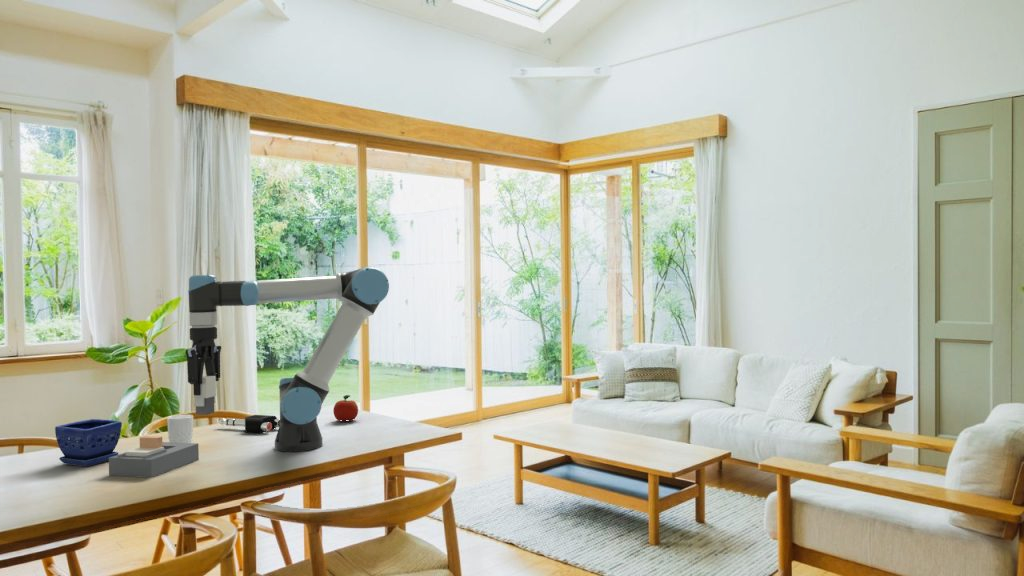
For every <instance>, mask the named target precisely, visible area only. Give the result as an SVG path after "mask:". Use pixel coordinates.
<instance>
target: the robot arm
mask: <svg viewBox="0 0 1024 576" xmlns="http://www.w3.org/2000/svg"><path fill="white" fill-rule="evenodd" d="M389 291H390V283H389V279H388V277H387V275H386V274H385V272H383V271H382V270H380V269H378V268H376V267H374V266H373V267H372V266H364V267H362V268H358V269H356V270H352V271H351V270H350V271H346V272H337V273H336V274H335V275H332V276H331V275H329V276H327V275H326V276H314V277H313V276H312V277H299V278H298V277H296V278H292V277H291V278H276V279H262V280H261V279H260V280H231V281H230V280H229V281H226V280H225V281H222V280H221V281H219V280H217V276H216V275H214V274H197V275H196V274H195V275H191V276H190V277H189V278H188V313H189V326H190V328H189V340H190V341H192V346H191V348H190V349H186V350H185V357H186V362H187V365H186V367H187V368H186V369H187V382H188V384H190V385H192V386H193V385H194V396H193V398H194V397H195V398H194V407H196V406H204V384H202V377H203V376H204V369H205V374H206V375H205V376H216V382H218V381H219V380H220V378H221V352H222V346H221V345H216V342H215V340H217V339H218V328H217V326H216V325H217V324H218V313H217V312H218V310H217V308H218V307H237V306H238V307H239V306H240V307H242V306H245V307H247V306H248V307H249V306H257V305H258V304H271V303H272V304H273V303H285V302H286V303H287V302H289V303H290V302H302V301H303V302H304V301H317V300H331V299H333V300H334V299H337V300H338V301H339V302H341V306H340V308H339V309H338V311H336V314H335V316H334V317H333V319H332V320H331V322H330V324H329V326H328V328H327V329H326V331H325V333H324V335H323V337H322V338H321V340H320V342H319V343H318V345H317V347H316V348H315V351H313V353H312V355H311V357H310V359H309V360H308V362H307V364H306V366H305V367H304V369H303V370H302V371H301V370H300V371H299V372H296V373H295V375H294V377H284V378H283V377H282V378H281V379H280V380H279V385H278V390H279V419H280V426H279V427H278V430H277V432H276V433H277V434H276V436H275V439H274V449H275V450H276V451H280V452H302V451H303V452H304V451H310V450H313V449H318V448H321V447H322V446H323V436H322V433H321V430H320V428H319V425H318V422H317V417H318V415H320V412H321V409H322V404H323V403H324V402H325V400H326V397H327V395H328V394H329V392H330V387H329V383H330V381H331V379H332V377H333V376H334V374H335V372H336V370H337V369H338V366H339V365H340V364H341V362H342V360H343V358H344V357H345V355H346V353H347V352H348V350H349V347H350V346H351V344H352V342H353V341H354V339H355V337H356V336H357V333H358V332H359V330H360V328H361V327H362V325H363V323H364V322H365V320H366V318H368V317H371V316H373V315H374V313H375V311H376V310H377V308H378V307H379V305H380V303H381V302H382V301H384V299H386V297H387V295H388V293H389ZM214 404H216V396H214Z"/></svg>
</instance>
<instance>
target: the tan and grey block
mask: <svg viewBox="0 0 1024 576" xmlns="http://www.w3.org/2000/svg"><path fill="white" fill-rule="evenodd" d="M162 442H163V436H156V435H155V436H154V435H151V436H150V435H143V436H141V437H139V447H136V448H133V449H129V450H126V451H125V452H124V453H125V456H140V457H143V456H144V455H147V454H150V453H153V452H156V451H159V450H162V449H164V447H162Z"/></svg>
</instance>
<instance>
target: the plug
mask: <svg viewBox="0 0 1024 576" xmlns="http://www.w3.org/2000/svg"><path fill="white" fill-rule="evenodd" d="M202 384H204V406H195V415H200V416H201V415H202V416H203V415H204V416H209V415H211V414H215V403H214V396H215V397H216V396H217V381H216V376H207V375H203V377H202ZM192 386H193V387H192V389H193V399H195V397H194V385H193V384H192Z"/></svg>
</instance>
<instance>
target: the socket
mask: <svg viewBox="0 0 1024 576" xmlns="http://www.w3.org/2000/svg"><path fill="white" fill-rule="evenodd" d="M162 447H164V449H162V450H159V451H156V452H153V453H150V454H147V455H144V456H143V457H140V456H125V452H122V453H118V455H116V456H113V457H109V461H108V475H109V476H115V477H117V476H118V477H135V478H154V477H157V476H160V475H162V474H165V473H167V472H170V471H173V470H175V469H177V468H180V467H184V466H185V465H188V464H191V463H193V462H197V461H198V460H200V459H199V455H200V453H199V443H197V442H196V443H193V442H192V443H174V442H169V441H167V442H166V441H162Z"/></svg>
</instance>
